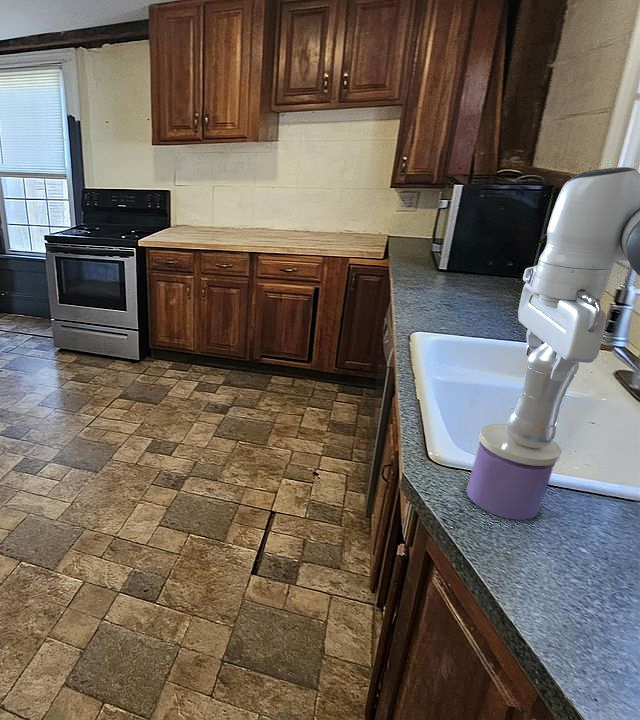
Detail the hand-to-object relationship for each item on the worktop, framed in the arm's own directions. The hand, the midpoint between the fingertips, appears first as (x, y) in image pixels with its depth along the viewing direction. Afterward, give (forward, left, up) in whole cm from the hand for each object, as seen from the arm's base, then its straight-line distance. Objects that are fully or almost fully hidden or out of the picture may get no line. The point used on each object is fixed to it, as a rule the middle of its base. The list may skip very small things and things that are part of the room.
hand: (543, 367), depth 84 cm
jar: (0, 0, -26) cm, 26 cm away
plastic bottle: (-1, +1, -14) cm, 14 cm away
